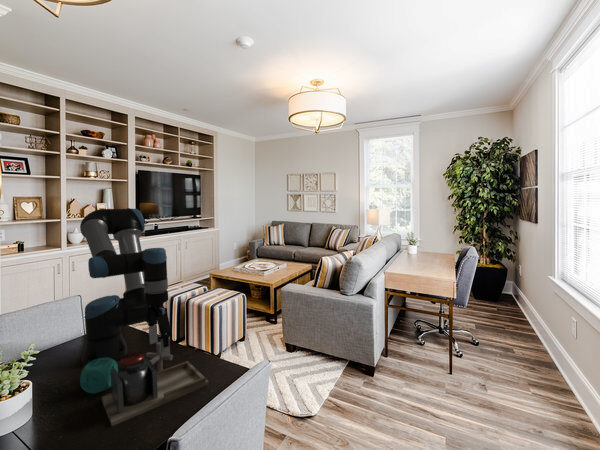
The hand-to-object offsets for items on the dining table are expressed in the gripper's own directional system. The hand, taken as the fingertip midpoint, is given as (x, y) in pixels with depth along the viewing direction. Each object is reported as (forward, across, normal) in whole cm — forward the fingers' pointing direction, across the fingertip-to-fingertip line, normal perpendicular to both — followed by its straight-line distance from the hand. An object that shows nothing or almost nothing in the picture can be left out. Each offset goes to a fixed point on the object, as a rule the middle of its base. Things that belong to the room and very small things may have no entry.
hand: (159, 348), depth 110 cm
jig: (+8, +13, -5) cm, 16 cm away
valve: (+8, +13, -12) cm, 19 cm away
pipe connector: (+8, -1, 0) cm, 8 cm away
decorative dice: (+8, -4, -18) cm, 20 cm away
